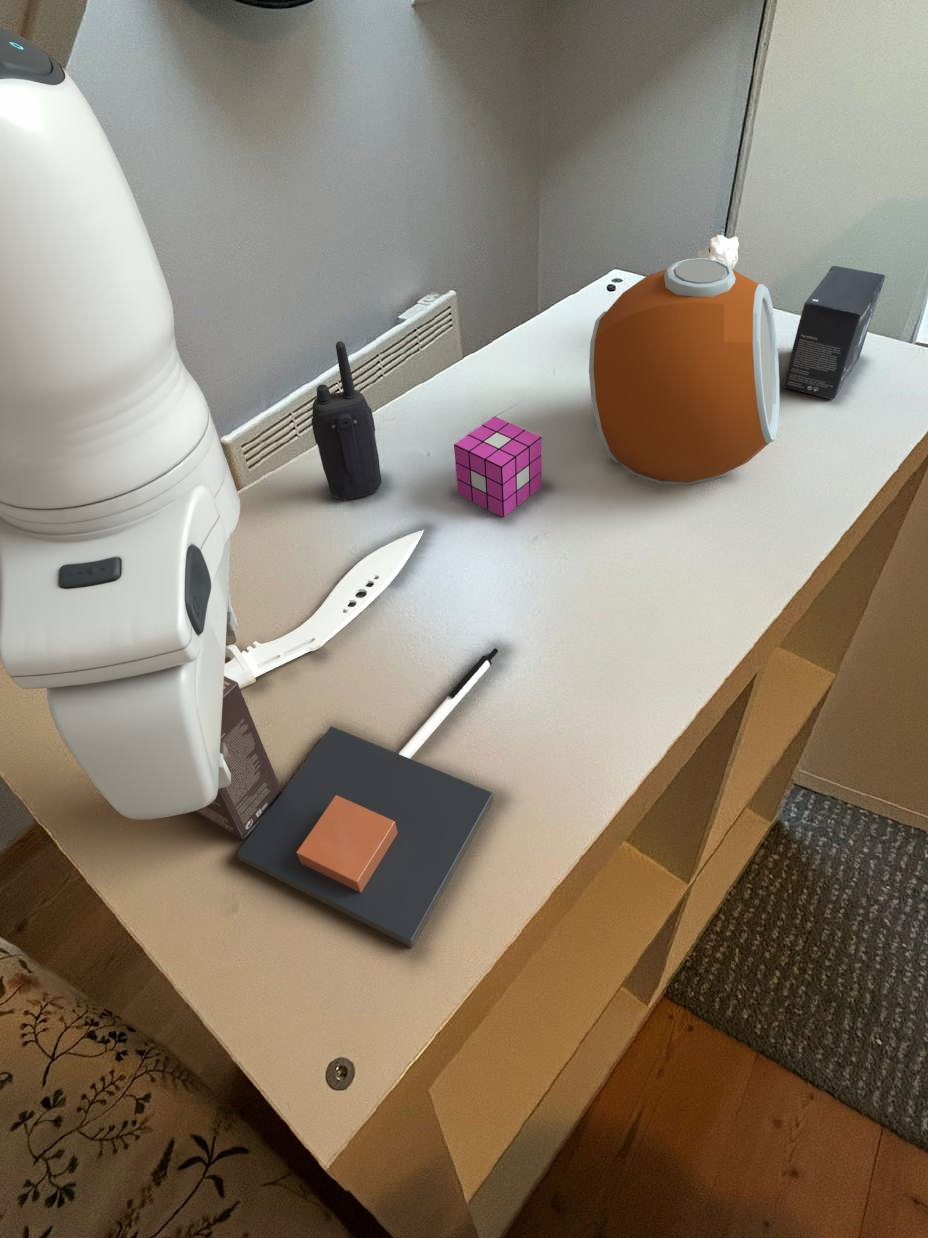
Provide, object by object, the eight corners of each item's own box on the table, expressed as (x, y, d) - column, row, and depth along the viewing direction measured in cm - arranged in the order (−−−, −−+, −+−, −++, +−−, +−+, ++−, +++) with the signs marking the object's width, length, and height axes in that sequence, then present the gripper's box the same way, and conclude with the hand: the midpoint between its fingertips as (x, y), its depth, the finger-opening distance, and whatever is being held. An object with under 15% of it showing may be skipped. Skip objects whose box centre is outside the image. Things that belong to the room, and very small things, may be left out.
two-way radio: (381, 473, 81) (356, 330, 70) (390, 500, 78) (366, 355, 67) (325, 485, 80) (291, 343, 69) (333, 513, 77) (299, 368, 66)
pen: (501, 656, 64) (500, 646, 63) (339, 844, 54) (336, 836, 53) (491, 651, 64) (490, 642, 63) (329, 837, 54) (325, 829, 53)
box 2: (835, 402, 84) (861, 313, 77) (780, 389, 86) (801, 301, 79) (860, 359, 89) (887, 272, 82) (808, 348, 91) (830, 262, 84)
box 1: (287, 790, 57) (240, 680, 48) (243, 842, 54) (186, 737, 45) (223, 754, 59) (167, 644, 50) (178, 803, 57) (111, 696, 48)
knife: (421, 521, 74) (469, 567, 69) (423, 535, 75) (470, 581, 70) (89, 667, 63) (119, 734, 58) (97, 682, 64) (127, 748, 60)
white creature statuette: (668, 317, 98) (680, 212, 89) (742, 326, 95) (763, 219, 87) (649, 357, 92) (661, 249, 83) (728, 368, 89) (748, 258, 81)
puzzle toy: (542, 487, 78) (542, 436, 73) (503, 518, 75) (501, 467, 71) (496, 465, 80) (494, 415, 76) (457, 494, 78) (452, 444, 74)
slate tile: (239, 860, 53) (235, 853, 53) (333, 733, 60) (330, 725, 59) (412, 949, 49) (410, 942, 48) (494, 800, 55) (493, 792, 54)
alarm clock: (761, 521, 72) (809, 338, 60) (566, 492, 77) (572, 316, 64) (777, 403, 84) (819, 230, 72) (608, 384, 89) (620, 218, 76)
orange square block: (301, 863, 52) (295, 852, 51) (339, 806, 54) (335, 794, 53) (360, 893, 50) (356, 882, 49) (398, 833, 53) (395, 821, 52)
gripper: (84, 377, 41) (175, 578, 51) (-15, 702, 27) (138, 890, 37) (213, 358, 41) (278, 562, 51) (181, 669, 27) (279, 865, 37)
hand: (219, 702), depth 44 cm, fingers open, 8 cm apart
